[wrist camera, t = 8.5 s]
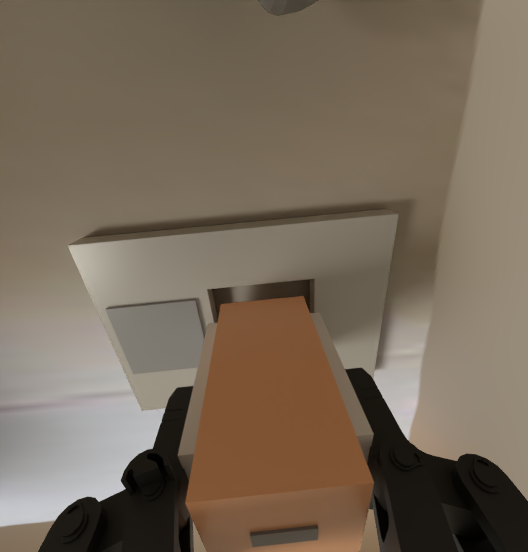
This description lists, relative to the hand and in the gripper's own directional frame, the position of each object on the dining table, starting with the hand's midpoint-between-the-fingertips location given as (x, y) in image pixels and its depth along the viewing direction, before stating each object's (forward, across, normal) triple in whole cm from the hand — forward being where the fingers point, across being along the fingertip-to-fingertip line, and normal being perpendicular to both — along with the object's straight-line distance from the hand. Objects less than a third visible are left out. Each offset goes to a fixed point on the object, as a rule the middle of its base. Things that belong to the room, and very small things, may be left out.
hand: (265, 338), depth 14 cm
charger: (0, 0, 0) cm, 0 cm away
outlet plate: (+2, -1, 0) cm, 2 cm away
